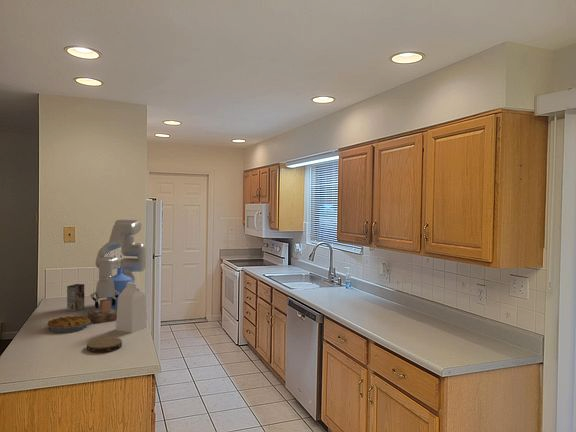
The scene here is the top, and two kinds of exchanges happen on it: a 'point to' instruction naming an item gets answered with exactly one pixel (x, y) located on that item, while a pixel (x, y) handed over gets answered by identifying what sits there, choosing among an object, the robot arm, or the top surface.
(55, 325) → the pie
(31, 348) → the top surface
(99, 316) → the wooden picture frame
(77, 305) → the coffee box
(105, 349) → the brown round disc
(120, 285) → the water jug
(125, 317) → the milk
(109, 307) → the terracotta block
